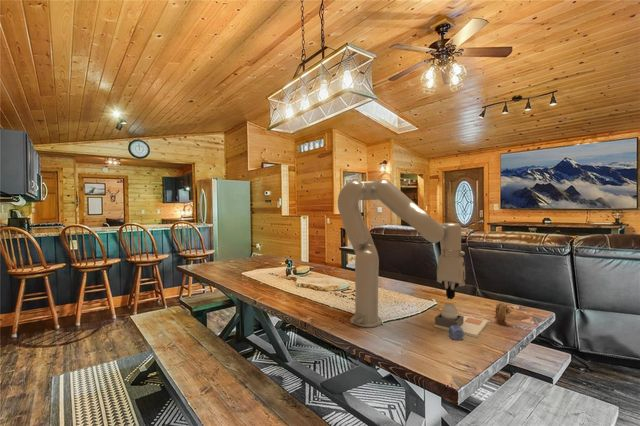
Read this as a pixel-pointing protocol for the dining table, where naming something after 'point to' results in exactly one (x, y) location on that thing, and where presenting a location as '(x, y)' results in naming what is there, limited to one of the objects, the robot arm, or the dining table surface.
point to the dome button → (449, 312)
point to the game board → (462, 324)
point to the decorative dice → (456, 332)
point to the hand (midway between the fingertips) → (450, 298)
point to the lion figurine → (501, 312)
